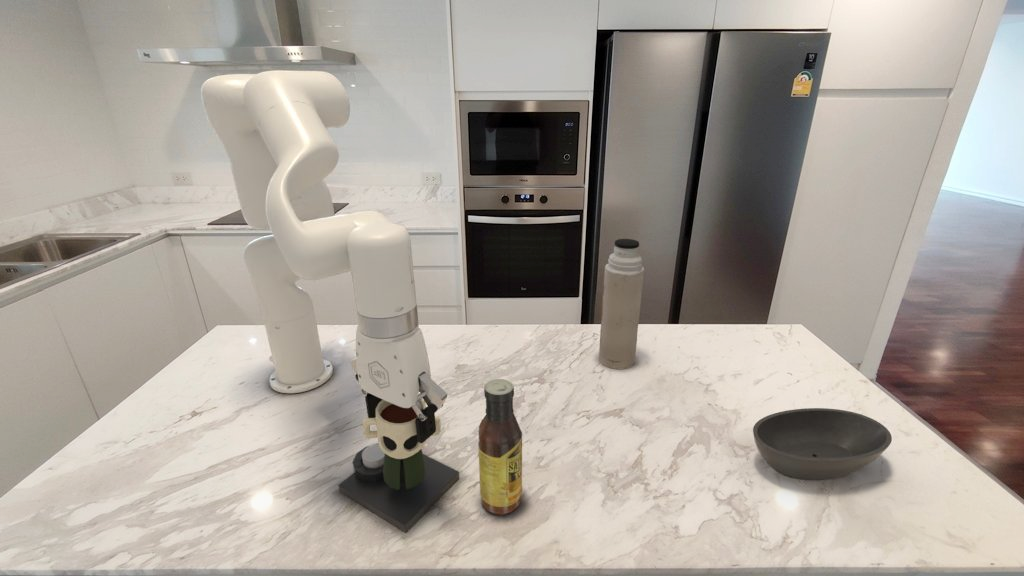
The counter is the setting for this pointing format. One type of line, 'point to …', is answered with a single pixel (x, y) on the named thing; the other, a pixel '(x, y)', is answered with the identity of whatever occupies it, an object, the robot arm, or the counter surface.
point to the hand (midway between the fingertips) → (401, 425)
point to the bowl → (819, 442)
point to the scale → (398, 491)
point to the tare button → (373, 457)
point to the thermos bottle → (621, 305)
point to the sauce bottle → (500, 450)
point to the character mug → (399, 443)
